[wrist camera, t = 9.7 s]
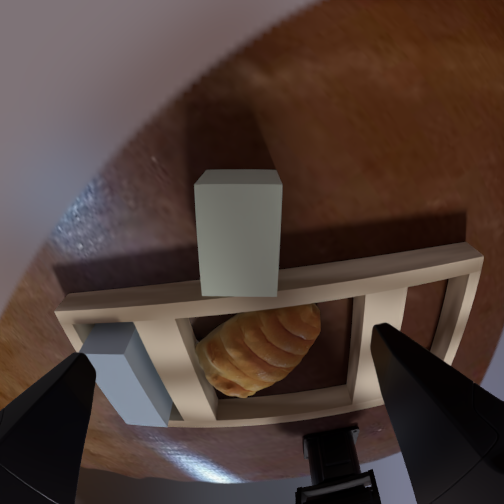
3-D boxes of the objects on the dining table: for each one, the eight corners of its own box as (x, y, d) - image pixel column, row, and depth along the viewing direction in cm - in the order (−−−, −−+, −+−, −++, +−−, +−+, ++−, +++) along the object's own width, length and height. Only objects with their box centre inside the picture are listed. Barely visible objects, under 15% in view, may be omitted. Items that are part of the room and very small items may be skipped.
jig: (432, 369, 25) (441, 386, 23) (132, 405, 27) (126, 423, 25) (465, 241, 19) (484, 256, 16) (68, 293, 21) (54, 311, 18)
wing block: (175, 388, 25) (167, 427, 21) (138, 387, 26) (126, 423, 22) (142, 313, 22) (123, 354, 17) (100, 316, 22) (77, 353, 18)
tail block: (272, 261, 20) (277, 296, 16) (210, 261, 20) (202, 295, 16) (275, 169, 17) (282, 184, 13) (206, 169, 17) (194, 184, 13)
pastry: (277, 265, 20) (282, 299, 16) (338, 318, 22) (351, 354, 18) (190, 341, 23) (183, 377, 19) (252, 379, 25) (253, 414, 21)
